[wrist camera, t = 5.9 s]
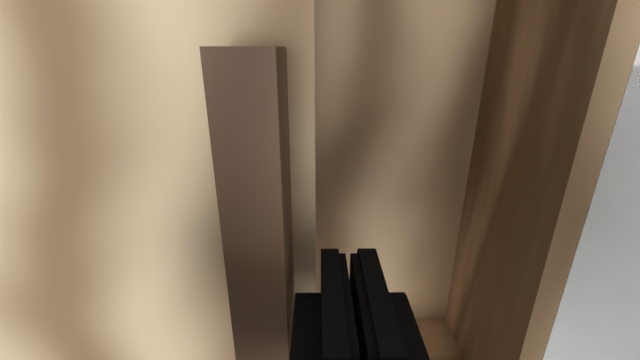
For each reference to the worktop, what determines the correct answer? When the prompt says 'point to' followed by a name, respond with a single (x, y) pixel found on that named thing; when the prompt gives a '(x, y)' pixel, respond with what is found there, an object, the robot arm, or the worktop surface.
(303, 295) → the robot arm
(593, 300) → the worktop surface
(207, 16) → the mailer lid
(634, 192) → the worktop surface
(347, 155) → the mailer box
